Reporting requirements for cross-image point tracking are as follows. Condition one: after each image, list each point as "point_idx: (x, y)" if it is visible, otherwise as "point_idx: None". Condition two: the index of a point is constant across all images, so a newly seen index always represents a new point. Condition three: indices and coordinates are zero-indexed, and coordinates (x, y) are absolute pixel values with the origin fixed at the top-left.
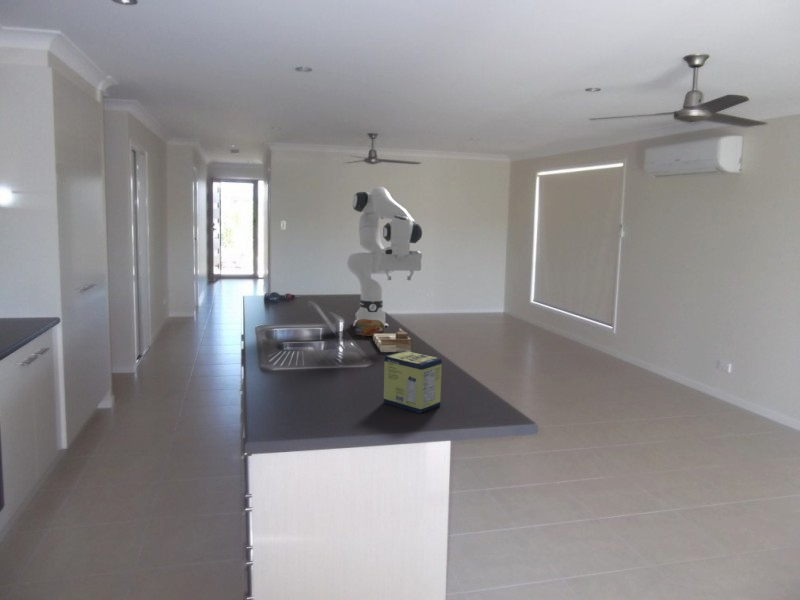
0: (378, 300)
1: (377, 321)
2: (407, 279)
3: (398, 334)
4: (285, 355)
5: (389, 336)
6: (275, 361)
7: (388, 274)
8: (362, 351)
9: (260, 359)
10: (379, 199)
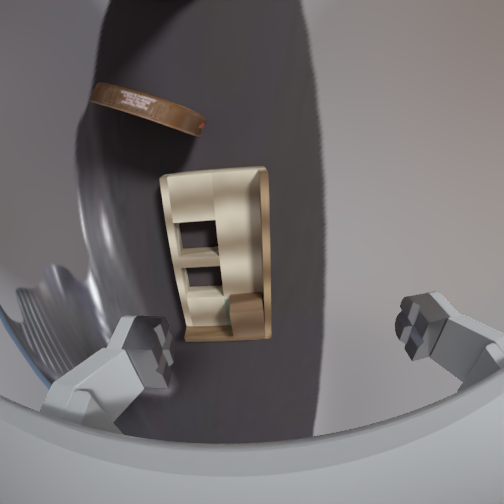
0: None
1: (166, 122)
2: (404, 310)
3: (235, 336)
4: (30, 323)
5: (216, 221)
6: (37, 351)
7: (123, 410)
8: (144, 311)
9: (18, 337)
10: None
